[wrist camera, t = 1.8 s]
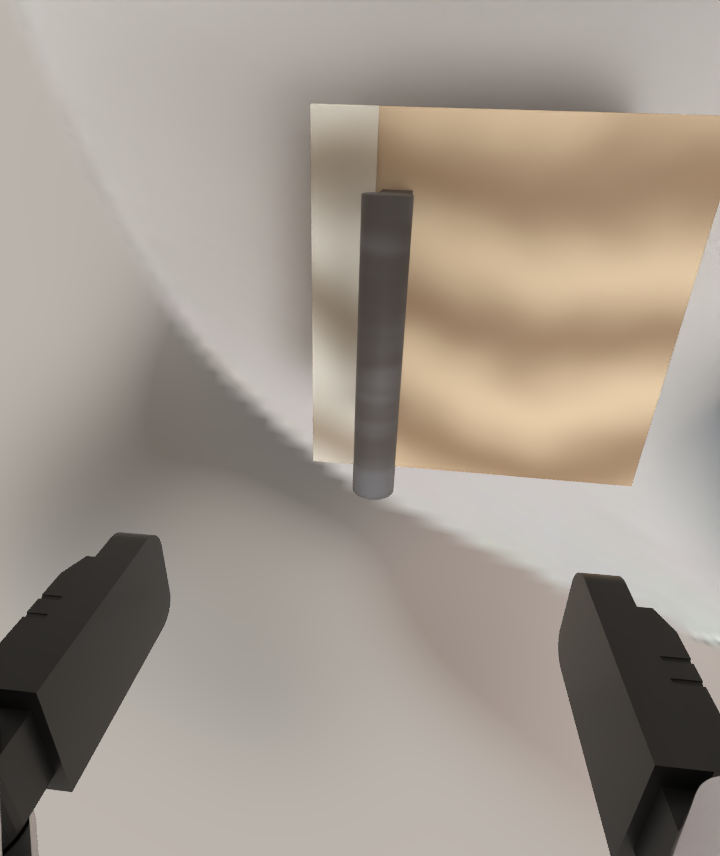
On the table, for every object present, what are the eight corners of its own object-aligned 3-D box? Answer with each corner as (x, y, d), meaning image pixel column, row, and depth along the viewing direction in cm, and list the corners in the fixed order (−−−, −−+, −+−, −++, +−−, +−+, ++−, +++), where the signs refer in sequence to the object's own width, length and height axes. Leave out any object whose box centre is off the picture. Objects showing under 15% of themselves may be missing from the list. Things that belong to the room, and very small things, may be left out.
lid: (315, 105, 25) (261, 85, 17) (733, 117, 23) (889, 102, 15) (317, 450, 33) (281, 545, 25) (625, 476, 31) (690, 586, 24)
